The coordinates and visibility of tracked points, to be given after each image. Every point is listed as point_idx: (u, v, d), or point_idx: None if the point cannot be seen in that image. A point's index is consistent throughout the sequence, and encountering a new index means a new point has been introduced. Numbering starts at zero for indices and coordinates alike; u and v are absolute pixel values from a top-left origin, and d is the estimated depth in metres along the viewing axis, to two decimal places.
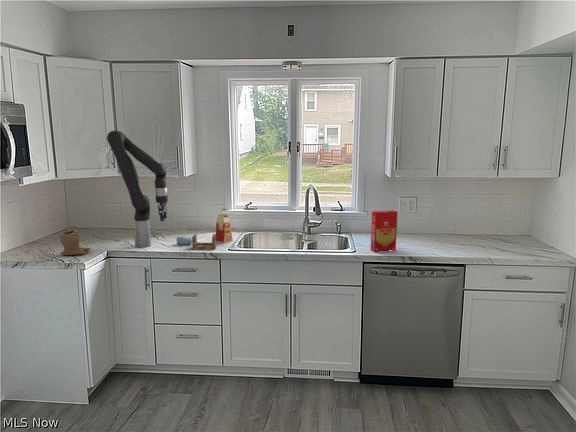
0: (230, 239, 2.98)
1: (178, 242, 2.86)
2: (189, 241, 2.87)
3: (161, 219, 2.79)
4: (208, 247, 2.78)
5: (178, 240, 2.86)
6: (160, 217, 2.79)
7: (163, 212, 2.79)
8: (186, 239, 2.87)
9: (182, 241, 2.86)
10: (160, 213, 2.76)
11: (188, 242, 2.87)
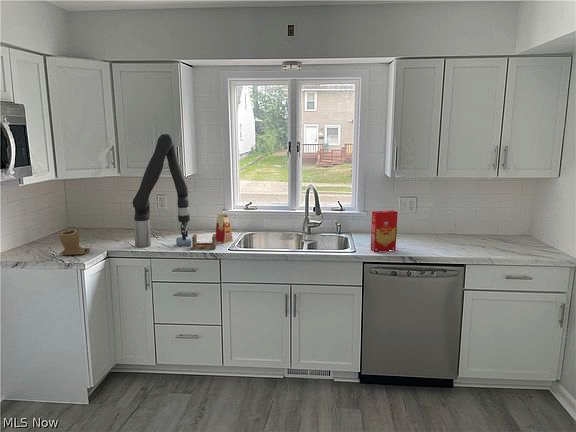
0: (230, 239, 2.98)
1: (178, 245, 2.86)
2: (189, 245, 2.86)
3: (183, 238, 2.83)
4: (208, 247, 2.78)
5: (178, 244, 2.85)
6: (182, 236, 2.84)
7: (185, 231, 2.84)
8: (186, 244, 2.85)
9: (182, 245, 2.86)
10: (182, 232, 2.81)
11: (188, 245, 2.87)
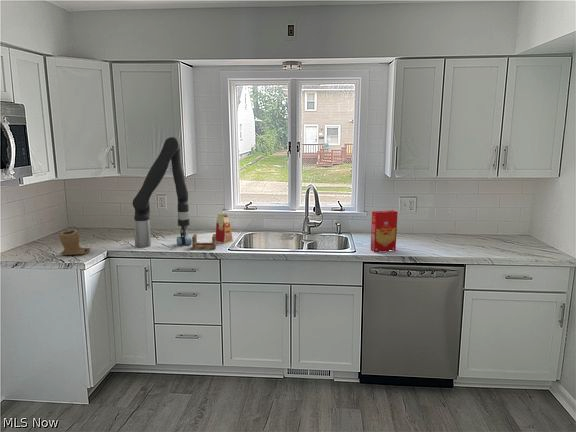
0: (230, 239, 2.98)
1: (178, 243, 2.87)
2: (189, 242, 2.87)
3: (183, 243, 2.85)
4: (208, 247, 2.78)
5: (178, 241, 2.86)
6: (182, 241, 2.86)
7: None
8: (186, 241, 2.87)
9: None
10: (182, 237, 2.83)
11: (188, 243, 2.87)
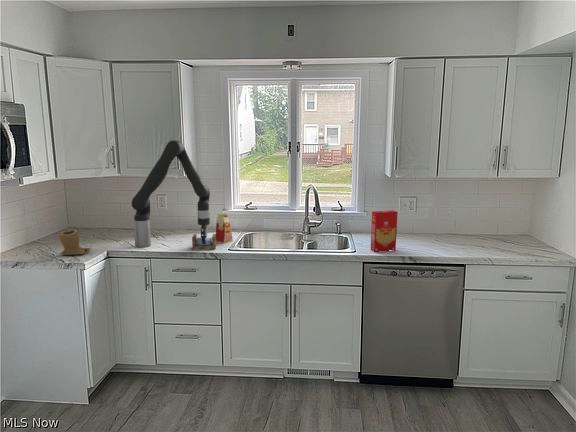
0: (230, 239, 2.98)
1: (198, 244, 2.79)
2: (209, 244, 2.79)
3: (203, 242, 2.76)
4: (208, 247, 2.78)
5: (198, 243, 2.78)
6: (202, 240, 2.77)
7: (205, 235, 2.77)
8: (206, 242, 2.79)
9: None
10: (202, 236, 2.74)
11: (208, 244, 2.79)
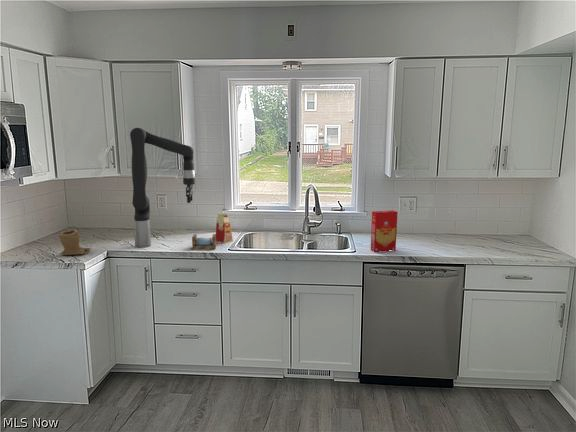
0: (230, 239, 2.98)
1: (198, 244, 2.79)
2: (209, 243, 2.79)
3: (188, 201, 2.82)
4: (208, 247, 2.78)
5: (198, 242, 2.79)
6: (187, 199, 2.83)
7: (190, 194, 2.83)
8: (206, 242, 2.79)
9: (202, 243, 2.79)
10: (187, 195, 2.80)
11: (208, 244, 2.80)
